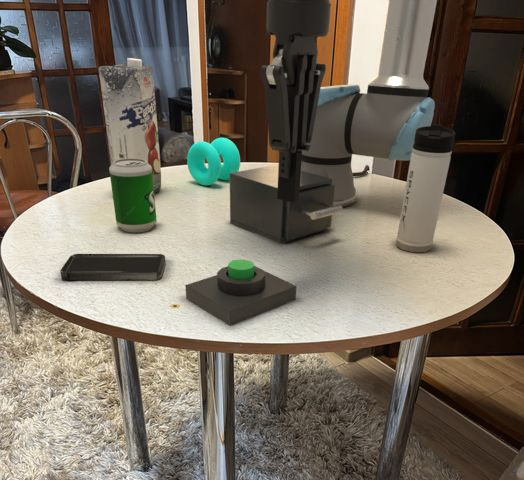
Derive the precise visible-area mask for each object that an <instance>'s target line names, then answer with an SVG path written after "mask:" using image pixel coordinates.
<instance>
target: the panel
mask: <svg viewBox="0 0 524 480" xmlns="http://www.w3.org/2000/svg"><path fill="white" fill-rule="evenodd" d="M185 299H186V300H187V301H189V302H190V303H192V304H194V305H196V306H197V307H199V308H200V309H202V310H203V311H205V312H206V313H209V314H210V315H211V316H213V317H215V318H217V319H218V320H220V321H221V322H223V323H225V324H226V325H228V326H233V325H236V324H238V323H241V322H243V321H246V320H248V319H251V318H253V317H256V316H258V315H260V314H261V315H262V314H264V313H266V312H268V311H271V310H273V309H277V308H278V307H280V306H284V305H287V304H288V303H291V302H293V301H296V299H297V285H295V284H293V283H291V282H289V281H287V280H284V279H283V278H280V277H279V276H276V275H274V274H272V273H270V272H268V271H266V270H264V269H262V268H260V267H258V266H256V265H254V278H251V279H248V280H236V279H231V278H229V277H228V265H227V266H224V267H221V268H220V269H219V270H218V271H217V272H216V275H212V276H210V277H205V278H203V279H200V280H196V281H193V282H190V283H188V284H185Z"/></svg>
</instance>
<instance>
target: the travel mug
mask: <svg viewBox="0 0 524 480" xmlns="http://www.w3.org/2000/svg"><path fill="white" fill-rule="evenodd" d="M455 137H456V131H455V130H453V129H452V128H449V127H445V126H443V124H434V123H431V126H426V127H420V128H418V129H417V130H416V133H415V138H414V142H415V143H414V144H413V148H412V151H413V152H412V154H411V159H410V160H409V165H408V171H407V176H406V177H407V178H406V183H405V189H404V195H403V199H402V206H401V210H400V211H401V212H400V218H399V223H398V230H397V235H396V241H395V245H396V247H397V248H399V250H400V249H401V250H402V251H406V252H409V253H410V252H411V253H426V252H429V251H430V250H432V246H433V243H434V241H433V240H434V237H435V232H436V230H437V229H436V228H437V224H438V219H439V214H440V210H441V205H442V200H443V196H444V191H445V186H446V181H447V177H448V172H449V168H450V164H451V157H452V153H453V146H454V141H455Z"/></svg>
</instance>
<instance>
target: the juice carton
mask: <svg viewBox="0 0 524 480" xmlns="http://www.w3.org/2000/svg"><path fill="white" fill-rule="evenodd" d="M126 62H127V63H126V64H125V63H124V64H123V63H119V64H115V65H102V66H99V67H98V75H99V80H100V81H99V83H100V89H101V91H100V92H101V97H102V99H101V100H102V105H103V114H104V121H105V129H106V136H107V137H106V138H107V145H108V152H109V160H110V166H111V165H112V164H113V162H114V161H115V160H119V159H126V158H137V159H143V160H146V161H147V163H148V164H149V165H150V166H151V167H152V174H153V185H154V194H156V193H158V192H160V190H161V189H162V167H161V153H160V143H159V130H158V118H157V105H156V103H157V102H156V91H155V82H154V72H153V66H151V65H149V64H148V65H145V64H143V60H142V59H139V58H133V57H127V59H126Z"/></svg>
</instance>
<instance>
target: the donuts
mask: <svg viewBox="0 0 524 480" xmlns="http://www.w3.org/2000/svg"><path fill="white" fill-rule="evenodd" d="M221 157H222V160H223V164H222V160H221ZM186 160H187V161H186V163H187V169H188V172H189V174H190V175H191V177H192V179H193V180H194V181H195V182H196V183H198V184H199V185H202V186H212V185H214V184H215V183H216V182H217V181H218V180H219V179H220V180H222V181H230V173H233V172H239V171H240V169H241V155H240V152H239V149H238V147H237V145H236V144H235V143H234V142H233V141H232V140H230V139H229V138H227V137H217V138H215V139H214V140H212V141H211V142H207V141H204V140H201V141H200V140H199V141H196V142H195V143H193V144H192V145H191V147H190V148H189V150H188V152H187V156H186ZM205 160H206V162H207V166H206V164H205Z"/></svg>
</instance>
